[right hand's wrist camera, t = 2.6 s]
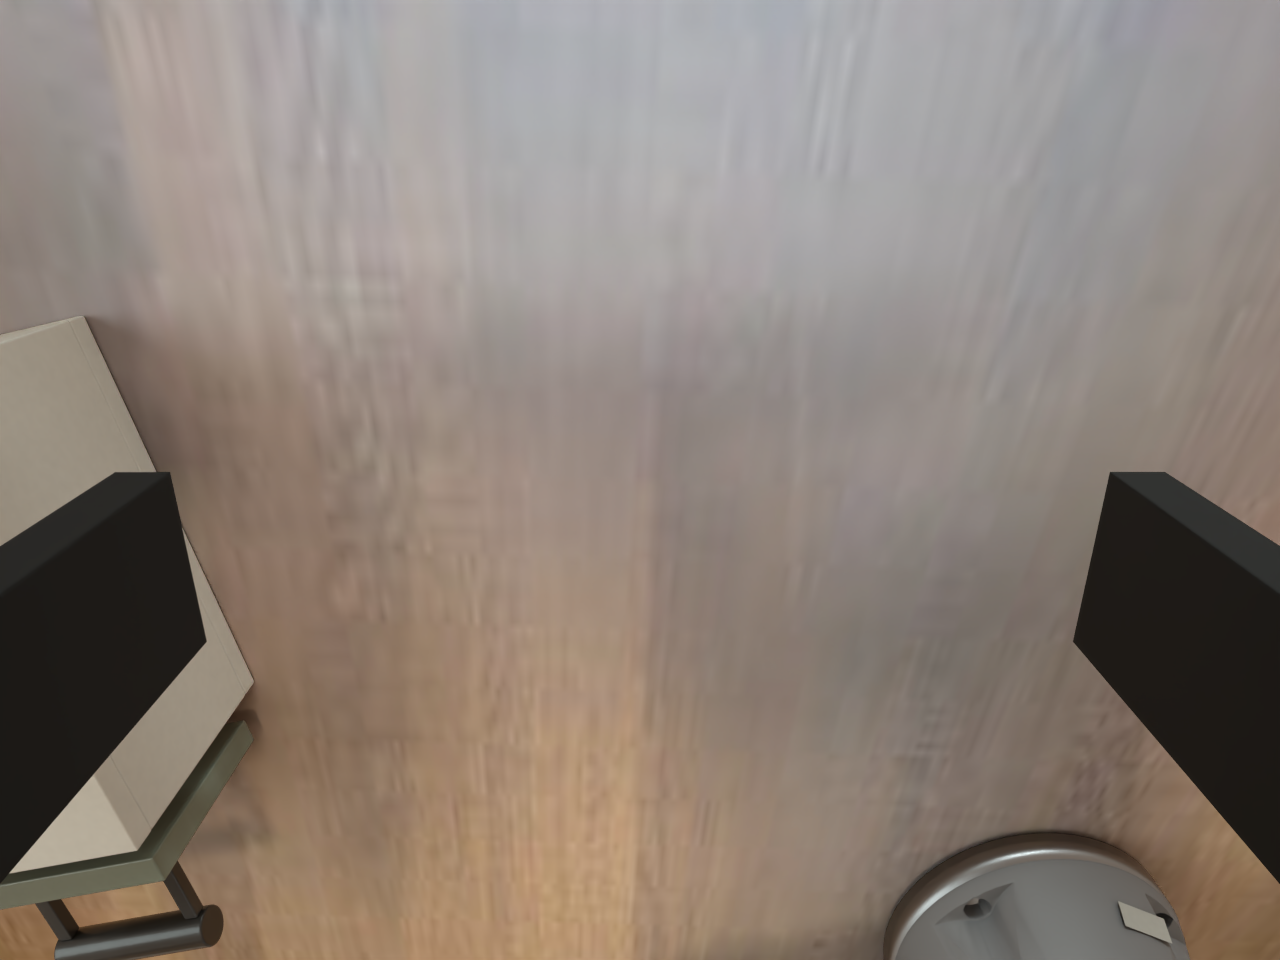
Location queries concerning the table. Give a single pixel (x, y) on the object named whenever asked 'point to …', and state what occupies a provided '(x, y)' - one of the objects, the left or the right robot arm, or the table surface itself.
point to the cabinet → (45, 481)
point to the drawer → (139, 875)
